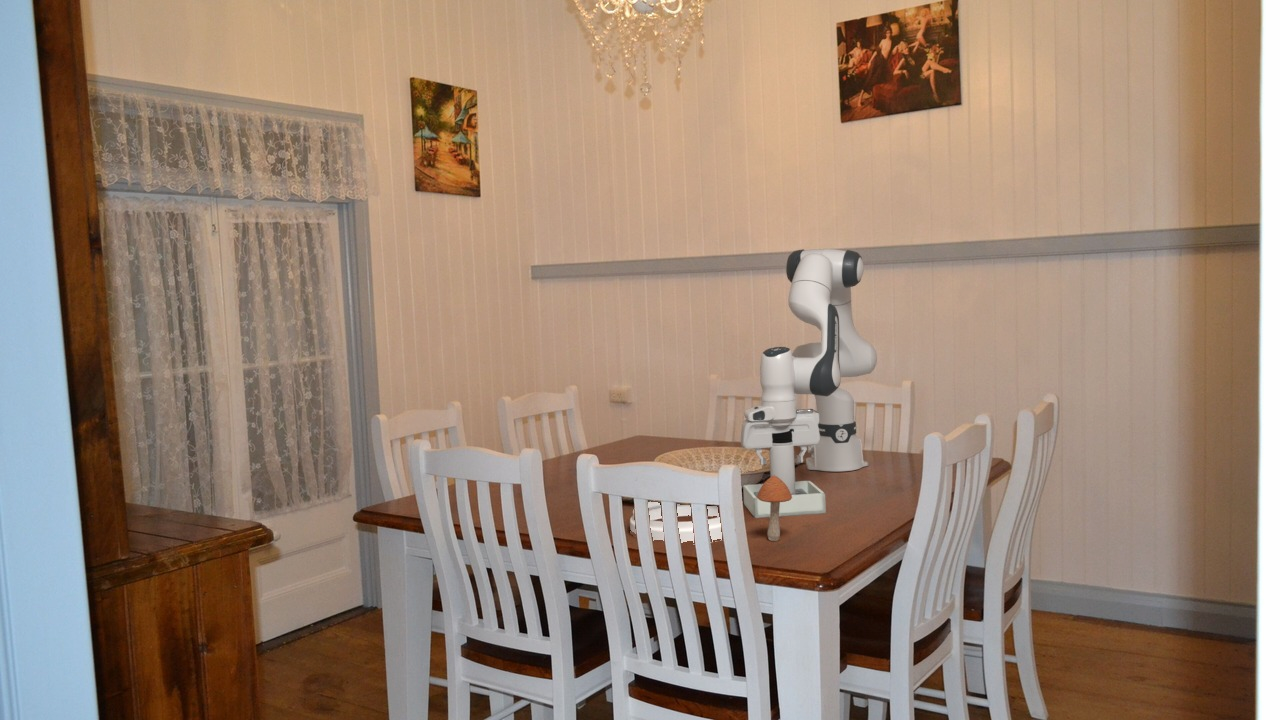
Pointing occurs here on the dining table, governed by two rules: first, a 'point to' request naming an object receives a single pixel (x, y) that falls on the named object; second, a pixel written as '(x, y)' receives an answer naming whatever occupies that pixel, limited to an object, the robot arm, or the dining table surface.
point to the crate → (802, 503)
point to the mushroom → (774, 503)
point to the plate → (684, 527)
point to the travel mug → (783, 459)
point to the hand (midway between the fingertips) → (781, 463)
